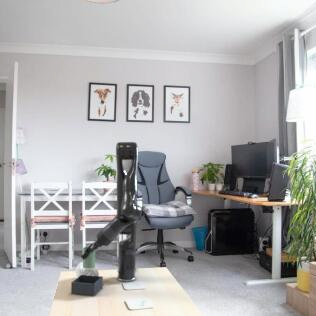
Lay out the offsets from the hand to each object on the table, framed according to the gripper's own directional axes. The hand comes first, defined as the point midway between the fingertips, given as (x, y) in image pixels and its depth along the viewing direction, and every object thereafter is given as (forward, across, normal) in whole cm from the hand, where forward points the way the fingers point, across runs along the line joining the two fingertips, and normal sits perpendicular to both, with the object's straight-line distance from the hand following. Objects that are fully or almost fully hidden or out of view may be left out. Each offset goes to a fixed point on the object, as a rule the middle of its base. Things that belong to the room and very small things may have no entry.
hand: (86, 256), depth 169 cm
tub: (+11, 0, +12) cm, 17 cm away
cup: (+2, 0, +5) cm, 5 cm away
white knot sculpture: (+17, -16, +7) cm, 24 cm away
